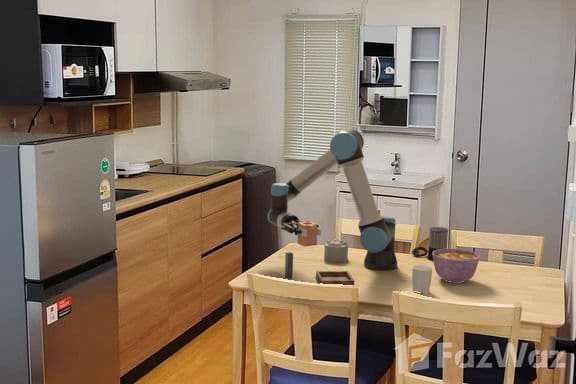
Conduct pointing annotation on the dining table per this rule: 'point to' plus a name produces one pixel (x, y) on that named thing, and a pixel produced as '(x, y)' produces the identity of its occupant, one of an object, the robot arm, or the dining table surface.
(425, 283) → the white cup
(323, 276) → the tray
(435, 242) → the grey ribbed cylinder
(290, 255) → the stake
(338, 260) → the lumpy-topped squat cylinder
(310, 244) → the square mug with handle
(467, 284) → the dining table surface
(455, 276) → the bowl of food
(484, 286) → the dining table surface
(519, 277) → the dining table surface
